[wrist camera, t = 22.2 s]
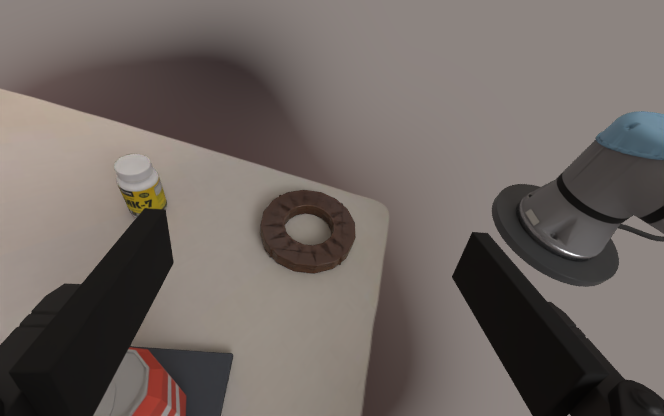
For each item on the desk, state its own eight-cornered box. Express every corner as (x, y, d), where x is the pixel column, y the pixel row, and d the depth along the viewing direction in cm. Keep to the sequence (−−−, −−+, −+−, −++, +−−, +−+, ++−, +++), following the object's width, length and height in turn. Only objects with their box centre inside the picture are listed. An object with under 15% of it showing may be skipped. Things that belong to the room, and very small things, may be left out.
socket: (351, 204, 52) (353, 196, 51) (353, 277, 43) (356, 270, 42) (268, 193, 51) (269, 184, 49) (253, 267, 42) (253, 259, 40)
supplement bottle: (124, 219, 43) (102, 174, 37) (137, 194, 46) (118, 149, 40) (162, 221, 44) (146, 178, 37) (172, 197, 47) (159, 153, 40)
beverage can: (106, 472, 26) (27, 468, 17) (118, 387, 30) (59, 348, 21) (186, 449, 28) (152, 435, 19) (188, 372, 32) (160, 330, 23)
